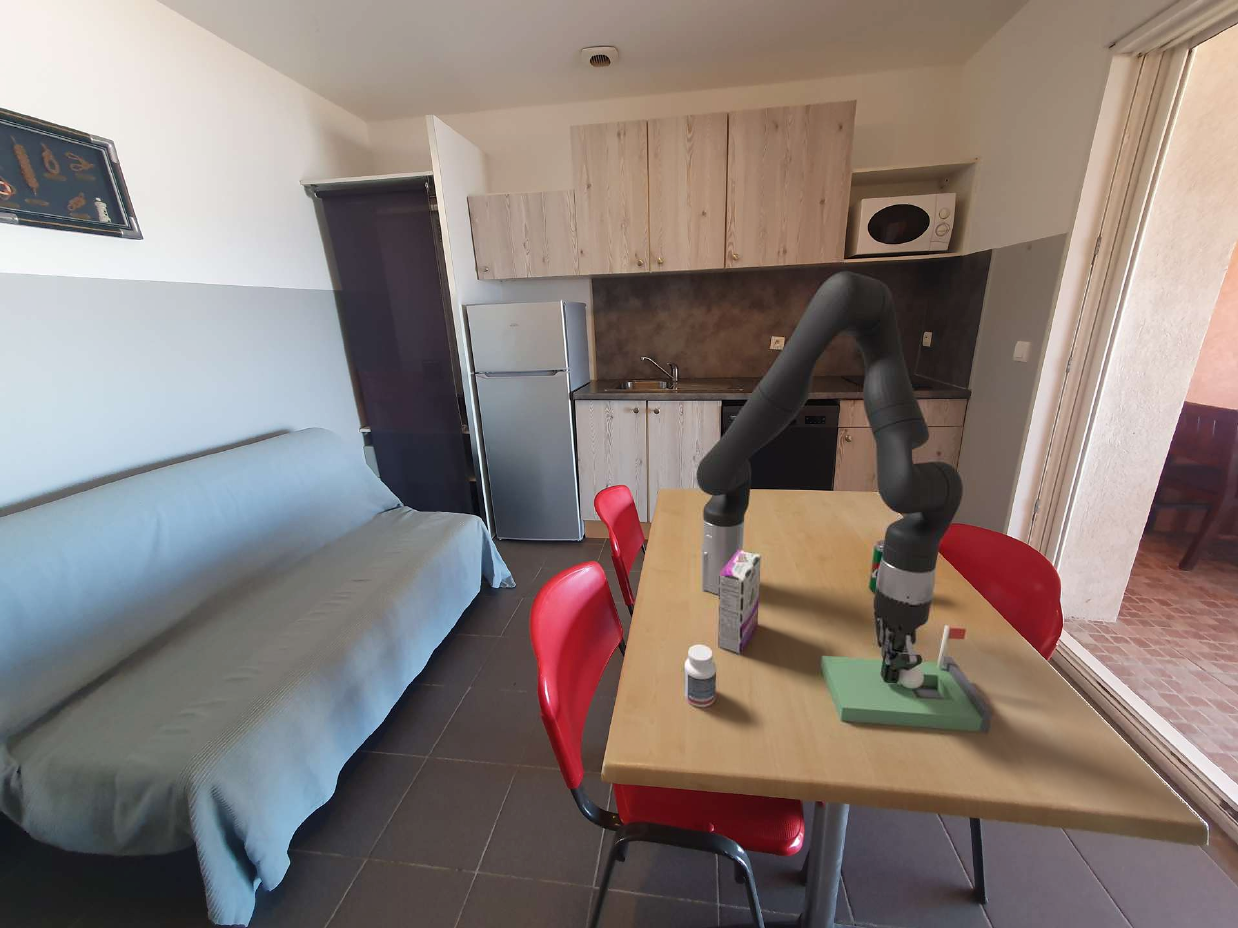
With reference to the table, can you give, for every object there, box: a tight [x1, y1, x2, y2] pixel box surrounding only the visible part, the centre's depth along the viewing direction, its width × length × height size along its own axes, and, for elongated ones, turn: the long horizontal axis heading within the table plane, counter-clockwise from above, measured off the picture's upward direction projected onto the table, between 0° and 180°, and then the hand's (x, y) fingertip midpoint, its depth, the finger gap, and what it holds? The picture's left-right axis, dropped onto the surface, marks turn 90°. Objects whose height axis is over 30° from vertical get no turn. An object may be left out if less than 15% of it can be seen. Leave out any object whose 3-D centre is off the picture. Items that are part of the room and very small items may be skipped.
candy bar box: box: [717, 549, 762, 655], centre depth 94 cm, size 11×5×16 cm, turn 148°
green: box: [820, 624, 994, 733], centre depth 78 cm, size 22×12×11 cm, turn 82°
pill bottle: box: [683, 644, 717, 708], centre depth 80 cm, size 5×5×9 cm
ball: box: [898, 666, 924, 689], centre depth 78 cm, size 4×4×4 cm
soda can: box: [868, 540, 884, 595], centre depth 108 cm, size 5×5×12 cm
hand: (888, 679), depth 79 cm, fingers closed
